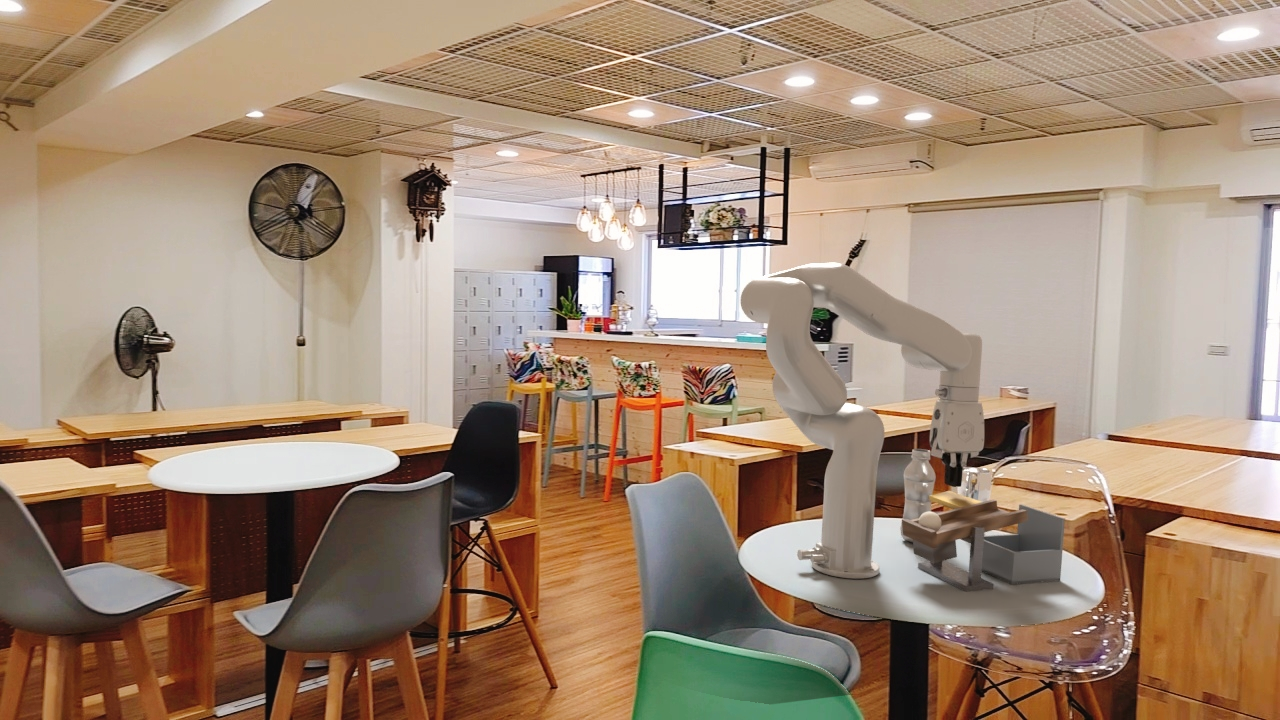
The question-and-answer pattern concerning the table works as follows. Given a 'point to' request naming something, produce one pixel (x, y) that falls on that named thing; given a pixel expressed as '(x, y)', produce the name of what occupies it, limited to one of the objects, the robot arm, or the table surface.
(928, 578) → the table surface
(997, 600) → the table surface
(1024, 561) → the cup
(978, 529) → the pivot stand
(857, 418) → the robot arm
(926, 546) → the lever chute
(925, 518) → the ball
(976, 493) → the beer glass
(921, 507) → the plastic bottle
